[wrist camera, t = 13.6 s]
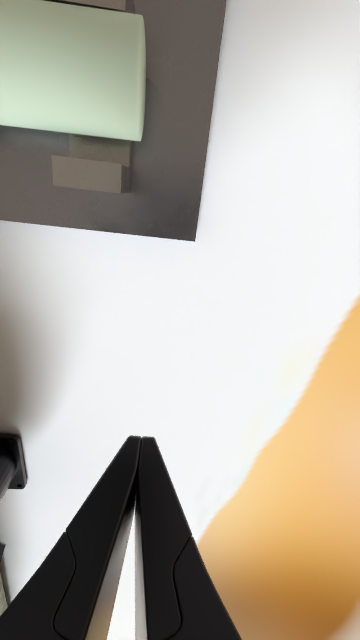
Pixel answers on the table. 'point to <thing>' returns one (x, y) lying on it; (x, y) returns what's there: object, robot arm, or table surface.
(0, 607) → the lunch bag
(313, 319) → the table surface
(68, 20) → the tube
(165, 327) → the table surface
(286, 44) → the table surface
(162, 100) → the saddle plate
